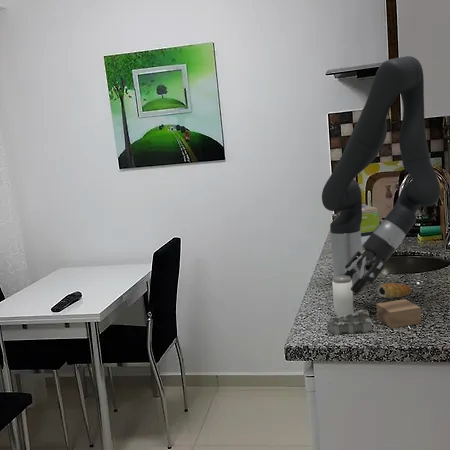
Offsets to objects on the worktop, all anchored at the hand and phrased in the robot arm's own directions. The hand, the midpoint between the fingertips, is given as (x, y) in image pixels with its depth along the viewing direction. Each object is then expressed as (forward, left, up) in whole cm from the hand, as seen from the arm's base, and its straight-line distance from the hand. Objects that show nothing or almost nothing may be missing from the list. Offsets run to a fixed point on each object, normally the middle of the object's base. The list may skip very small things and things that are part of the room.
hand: (347, 288), depth 158 cm
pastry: (-9, +17, -7) cm, 21 cm away
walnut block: (+12, +9, -7) cm, 16 cm away
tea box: (-86, +41, -7) cm, 96 cm away
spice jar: (0, -1, -7) cm, 7 cm away
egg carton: (+12, -4, -7) cm, 15 cm away
